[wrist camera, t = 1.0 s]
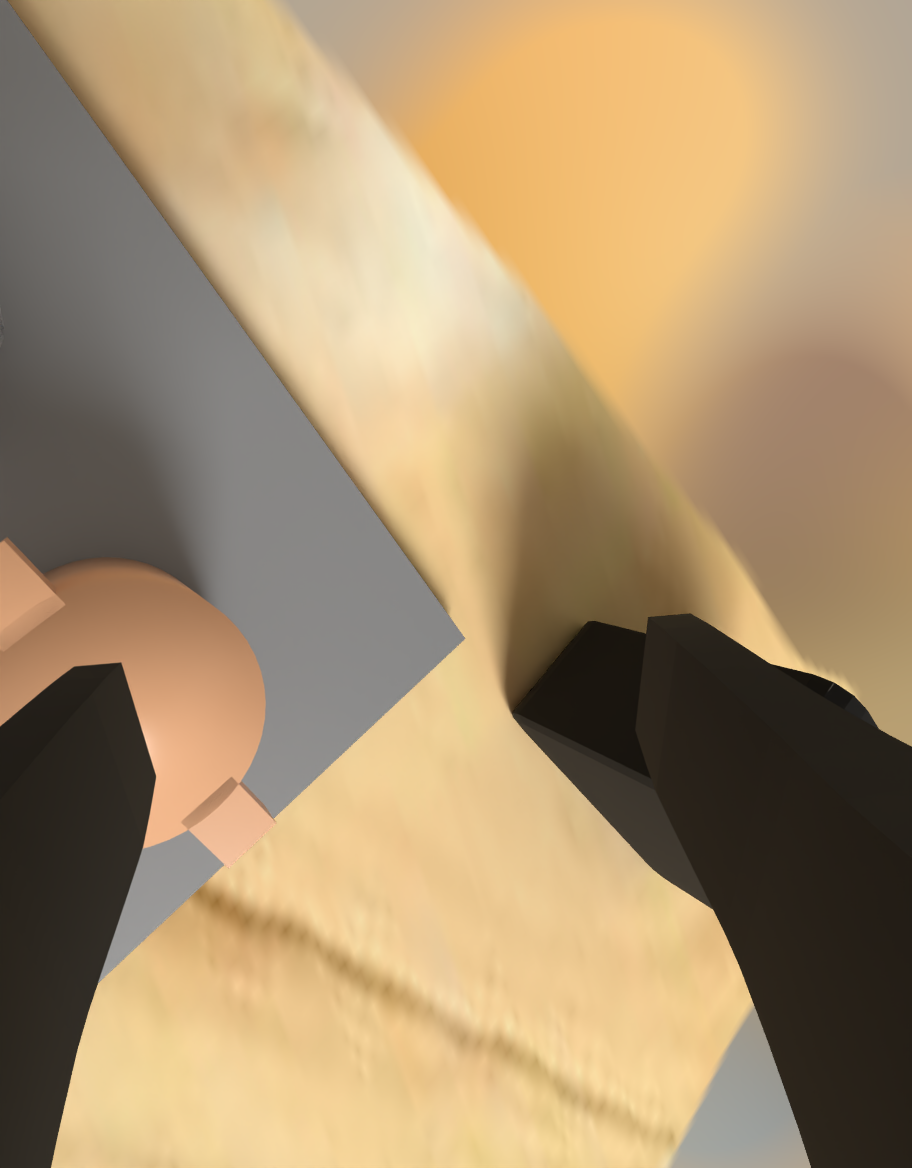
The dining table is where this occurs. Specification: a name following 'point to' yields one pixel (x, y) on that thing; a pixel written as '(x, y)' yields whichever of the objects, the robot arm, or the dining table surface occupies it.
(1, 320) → the segmented grey ring
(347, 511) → the board
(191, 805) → the cap
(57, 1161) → the dining table surface
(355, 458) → the dining table surface
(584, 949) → the dining table surface
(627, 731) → the electronic device
